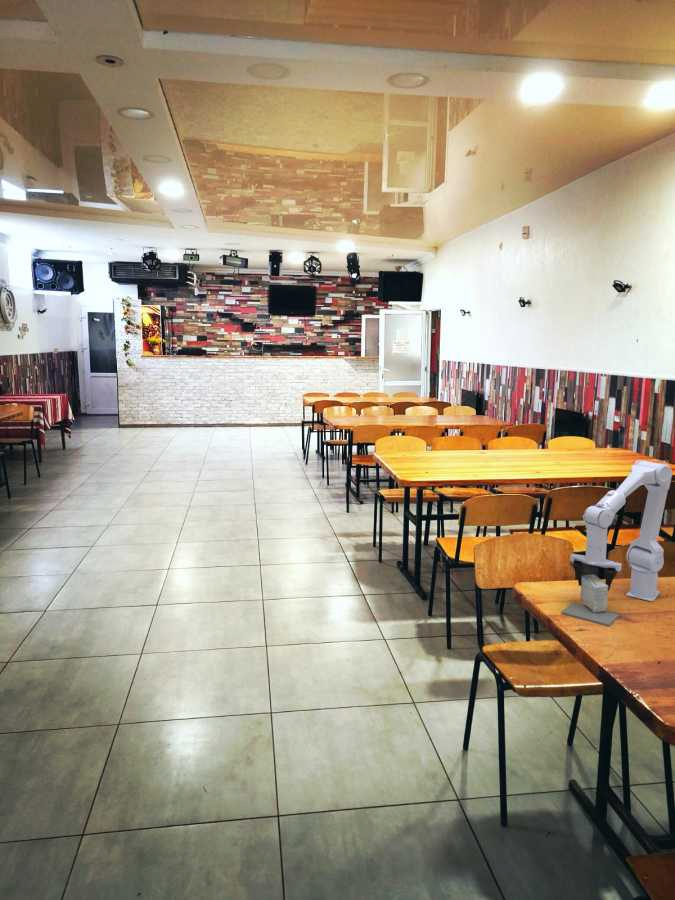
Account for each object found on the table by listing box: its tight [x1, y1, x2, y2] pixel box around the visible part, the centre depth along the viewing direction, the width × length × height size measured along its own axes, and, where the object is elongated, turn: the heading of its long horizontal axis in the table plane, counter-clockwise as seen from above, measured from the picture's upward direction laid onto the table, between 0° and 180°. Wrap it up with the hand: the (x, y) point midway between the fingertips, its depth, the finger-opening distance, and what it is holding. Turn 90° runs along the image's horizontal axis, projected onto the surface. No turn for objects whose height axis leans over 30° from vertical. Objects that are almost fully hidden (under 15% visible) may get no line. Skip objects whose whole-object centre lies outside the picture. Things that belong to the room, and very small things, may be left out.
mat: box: [560, 602, 620, 627], centre depth 180 cm, size 9×14×1 cm, turn 49°
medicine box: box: [579, 573, 609, 612], centre depth 182 cm, size 8×4×9 cm, turn 8°
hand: (593, 587), depth 184 cm, fingers open, 7 cm apart
